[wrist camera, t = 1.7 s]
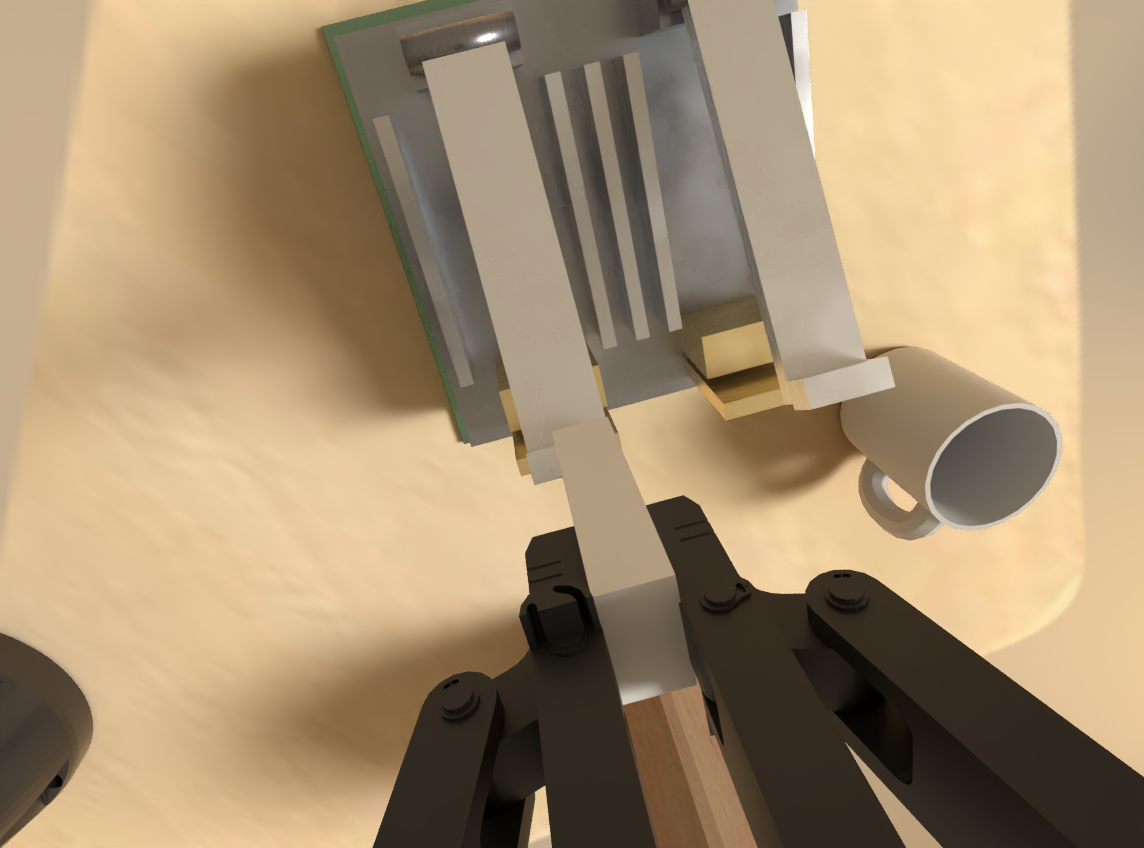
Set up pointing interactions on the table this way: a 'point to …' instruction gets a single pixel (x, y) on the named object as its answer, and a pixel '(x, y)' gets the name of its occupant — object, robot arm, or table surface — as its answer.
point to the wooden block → (685, 774)
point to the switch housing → (578, 202)
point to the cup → (948, 447)
